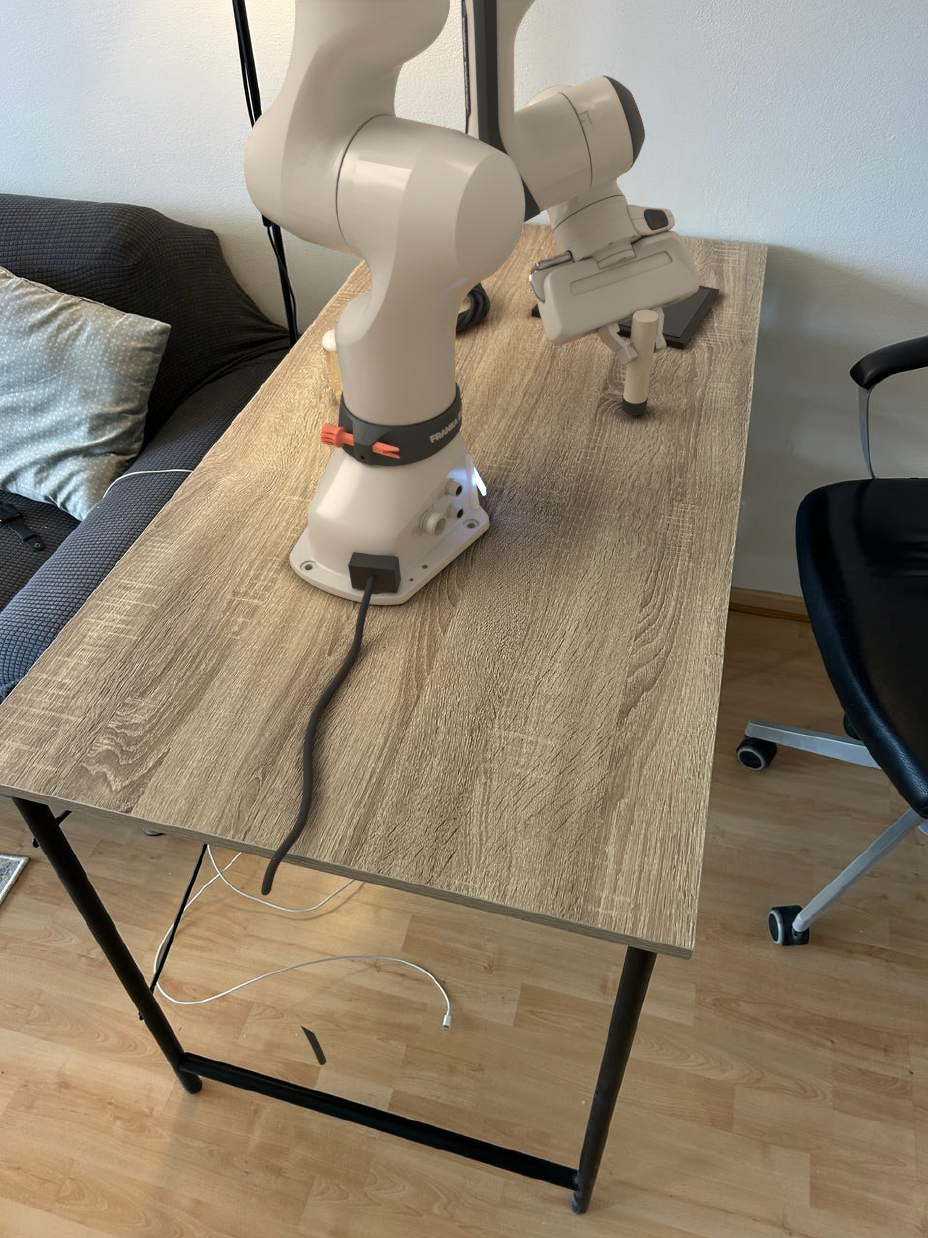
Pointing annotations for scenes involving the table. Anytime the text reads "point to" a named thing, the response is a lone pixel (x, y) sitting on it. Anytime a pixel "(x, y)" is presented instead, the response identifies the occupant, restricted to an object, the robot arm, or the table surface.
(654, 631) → the table surface
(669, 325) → the tablet
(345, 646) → the table surface
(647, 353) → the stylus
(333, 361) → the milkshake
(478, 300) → the cable
